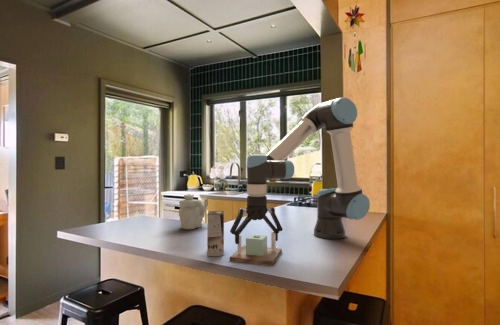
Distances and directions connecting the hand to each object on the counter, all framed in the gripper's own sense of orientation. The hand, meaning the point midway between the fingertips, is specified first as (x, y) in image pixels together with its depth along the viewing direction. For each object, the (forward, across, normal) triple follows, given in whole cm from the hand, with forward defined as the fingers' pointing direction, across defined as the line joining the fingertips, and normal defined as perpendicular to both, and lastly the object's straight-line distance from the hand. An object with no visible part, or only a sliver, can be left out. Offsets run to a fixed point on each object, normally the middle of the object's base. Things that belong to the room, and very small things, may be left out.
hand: (256, 251), depth 114 cm
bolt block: (+2, 0, 0) cm, 2 cm away
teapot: (+2, +17, -61) cm, 63 cm away
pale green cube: (+1, 0, 0) cm, 1 cm away
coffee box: (+2, +14, -9) cm, 17 cm away
